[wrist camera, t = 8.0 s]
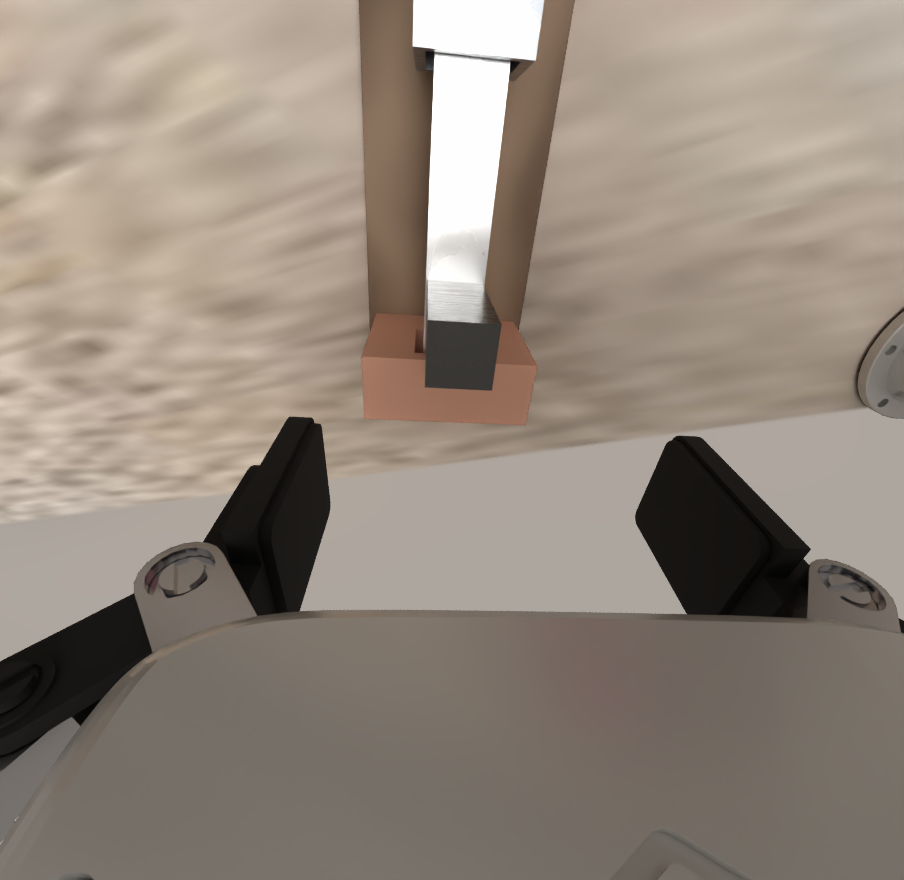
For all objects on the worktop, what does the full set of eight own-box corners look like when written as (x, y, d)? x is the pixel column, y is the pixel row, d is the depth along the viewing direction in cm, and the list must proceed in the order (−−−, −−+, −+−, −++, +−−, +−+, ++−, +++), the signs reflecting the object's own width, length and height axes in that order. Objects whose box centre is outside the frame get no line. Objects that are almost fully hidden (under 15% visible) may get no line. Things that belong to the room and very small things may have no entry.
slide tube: (509, -21, 18) (579, -179, 10) (467, 372, 29) (484, 457, 20) (437, -31, 18) (447, -202, 10) (422, 370, 28) (419, 455, 20)
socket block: (513, 321, 30) (537, 366, 24) (505, 371, 33) (525, 425, 26) (376, 313, 30) (361, 356, 23) (377, 364, 32) (364, 418, 25)
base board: (613, -278, 18) (627, -312, 16) (508, 364, 34) (511, 371, 33) (352, -328, 17) (346, -368, 15) (373, 356, 33) (371, 364, 32)
